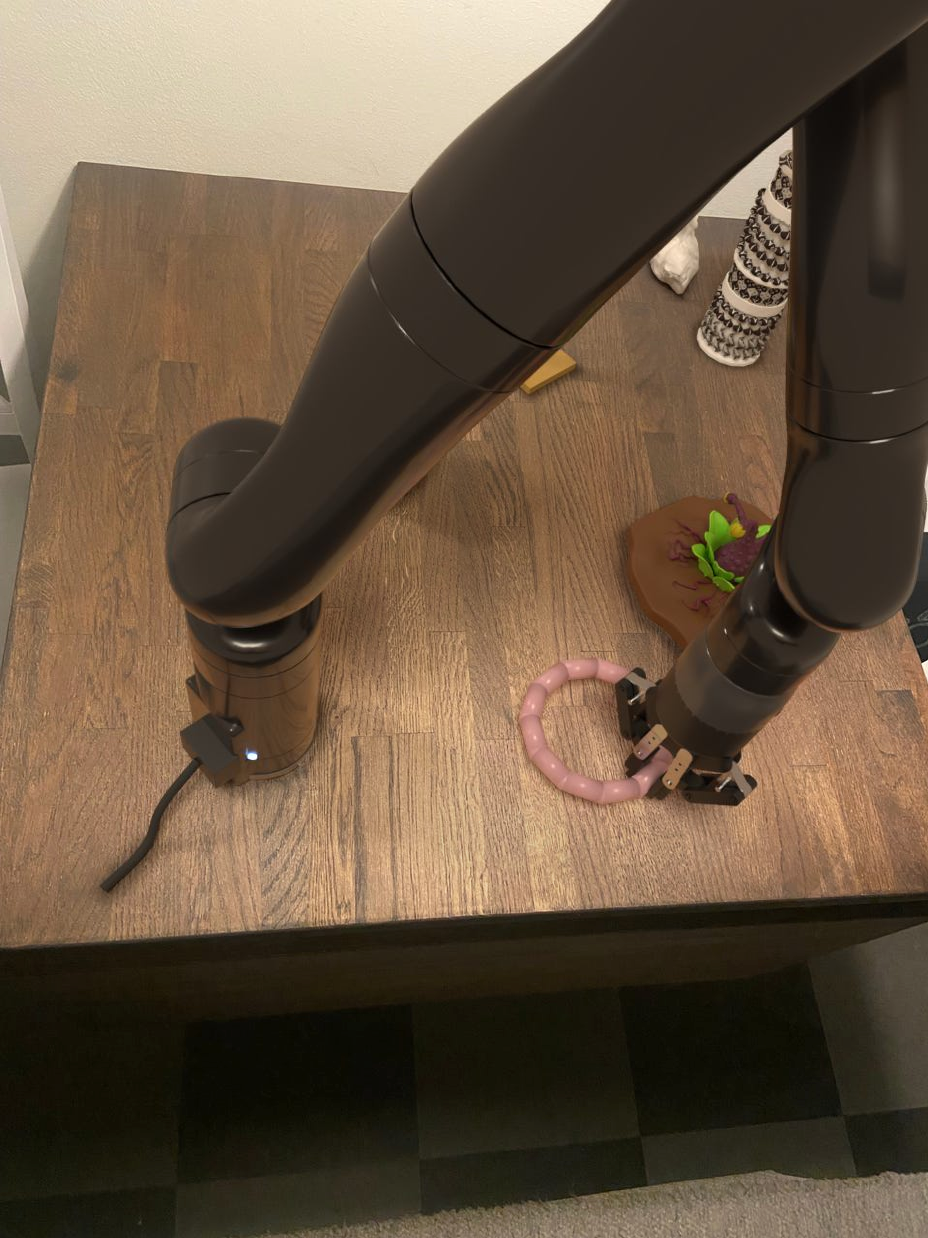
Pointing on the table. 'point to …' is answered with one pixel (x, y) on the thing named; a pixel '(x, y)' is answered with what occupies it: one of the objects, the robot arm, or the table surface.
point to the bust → (678, 259)
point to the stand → (549, 372)
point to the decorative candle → (753, 278)
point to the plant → (692, 559)
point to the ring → (553, 764)
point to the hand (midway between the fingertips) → (644, 781)
